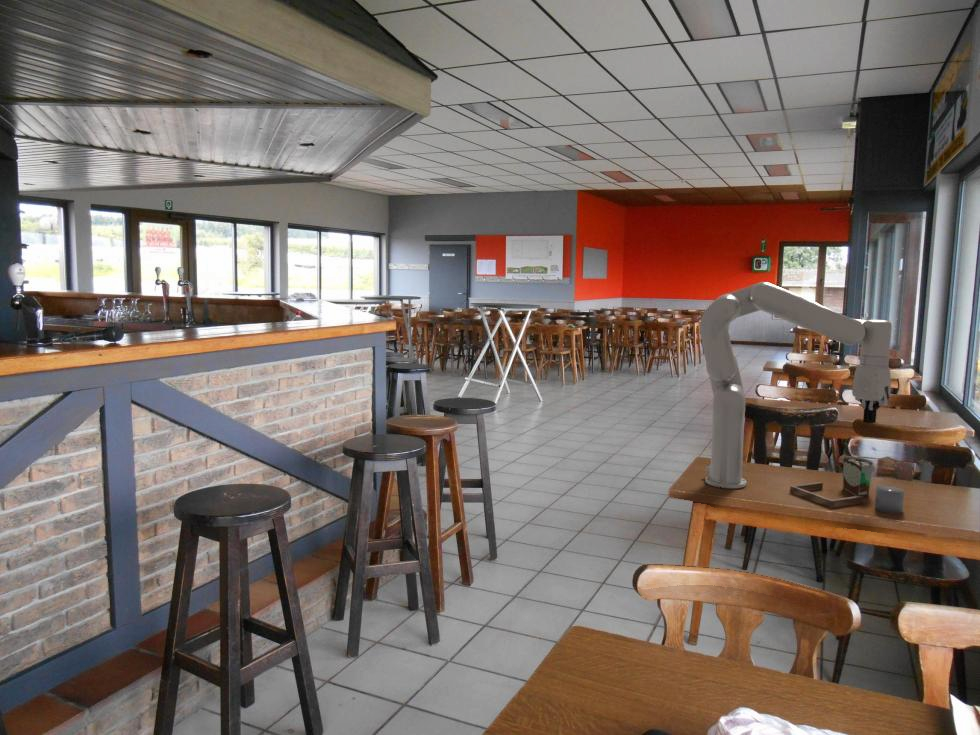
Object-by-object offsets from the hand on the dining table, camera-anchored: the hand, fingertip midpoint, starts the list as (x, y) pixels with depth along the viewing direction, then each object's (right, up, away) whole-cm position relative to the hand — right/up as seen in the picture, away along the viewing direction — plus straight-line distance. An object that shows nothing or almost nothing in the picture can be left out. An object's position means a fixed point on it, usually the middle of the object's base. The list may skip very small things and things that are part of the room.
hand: (869, 422), depth 217 cm
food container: (0, -22, +6) cm, 23 cm away
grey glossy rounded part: (0, -24, -10) cm, 26 cm away
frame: (-13, -23, 0) cm, 26 cm away
